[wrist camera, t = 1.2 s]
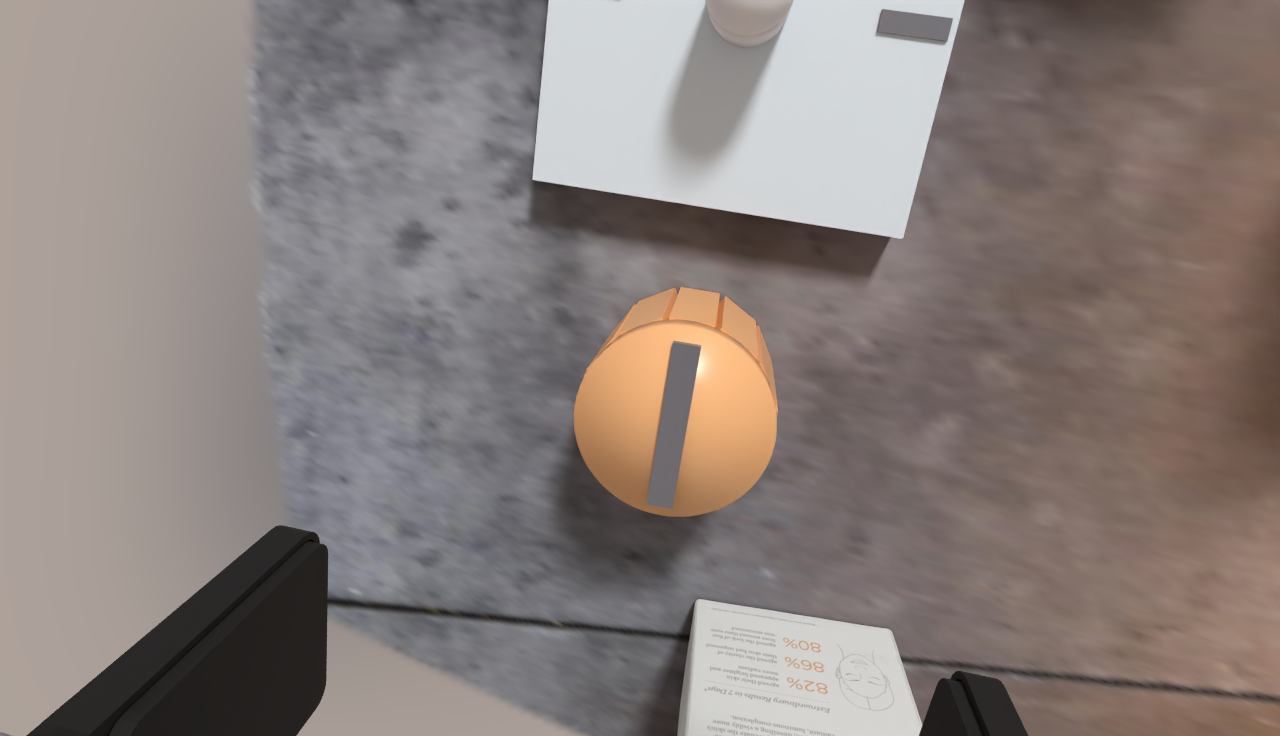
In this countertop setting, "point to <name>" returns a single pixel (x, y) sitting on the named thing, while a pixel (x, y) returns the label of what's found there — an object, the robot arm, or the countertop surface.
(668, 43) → the knob base plate
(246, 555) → the robot arm
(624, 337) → the cap
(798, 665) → the small box
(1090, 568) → the countertop surface
